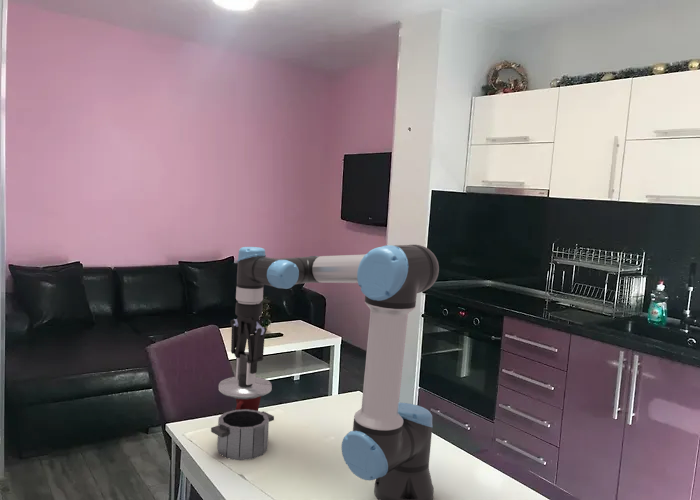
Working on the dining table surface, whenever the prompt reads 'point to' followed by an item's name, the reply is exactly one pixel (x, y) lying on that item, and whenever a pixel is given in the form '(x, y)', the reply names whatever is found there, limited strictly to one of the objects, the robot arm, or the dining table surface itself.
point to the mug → (248, 404)
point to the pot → (242, 434)
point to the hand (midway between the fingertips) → (245, 381)
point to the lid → (244, 383)
